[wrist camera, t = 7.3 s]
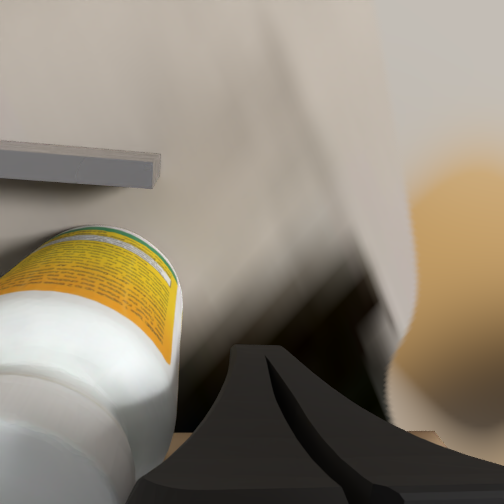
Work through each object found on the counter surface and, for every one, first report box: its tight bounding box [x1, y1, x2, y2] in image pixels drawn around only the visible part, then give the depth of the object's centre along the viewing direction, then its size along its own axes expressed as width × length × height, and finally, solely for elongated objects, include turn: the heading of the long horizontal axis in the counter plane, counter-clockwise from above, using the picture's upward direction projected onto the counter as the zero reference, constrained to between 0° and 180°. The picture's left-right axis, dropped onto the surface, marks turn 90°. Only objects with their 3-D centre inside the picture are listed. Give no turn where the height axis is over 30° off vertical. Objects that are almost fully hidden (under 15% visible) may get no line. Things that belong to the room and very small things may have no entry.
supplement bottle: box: [0, 225, 183, 504], centre depth 11 cm, size 5×5×10 cm
